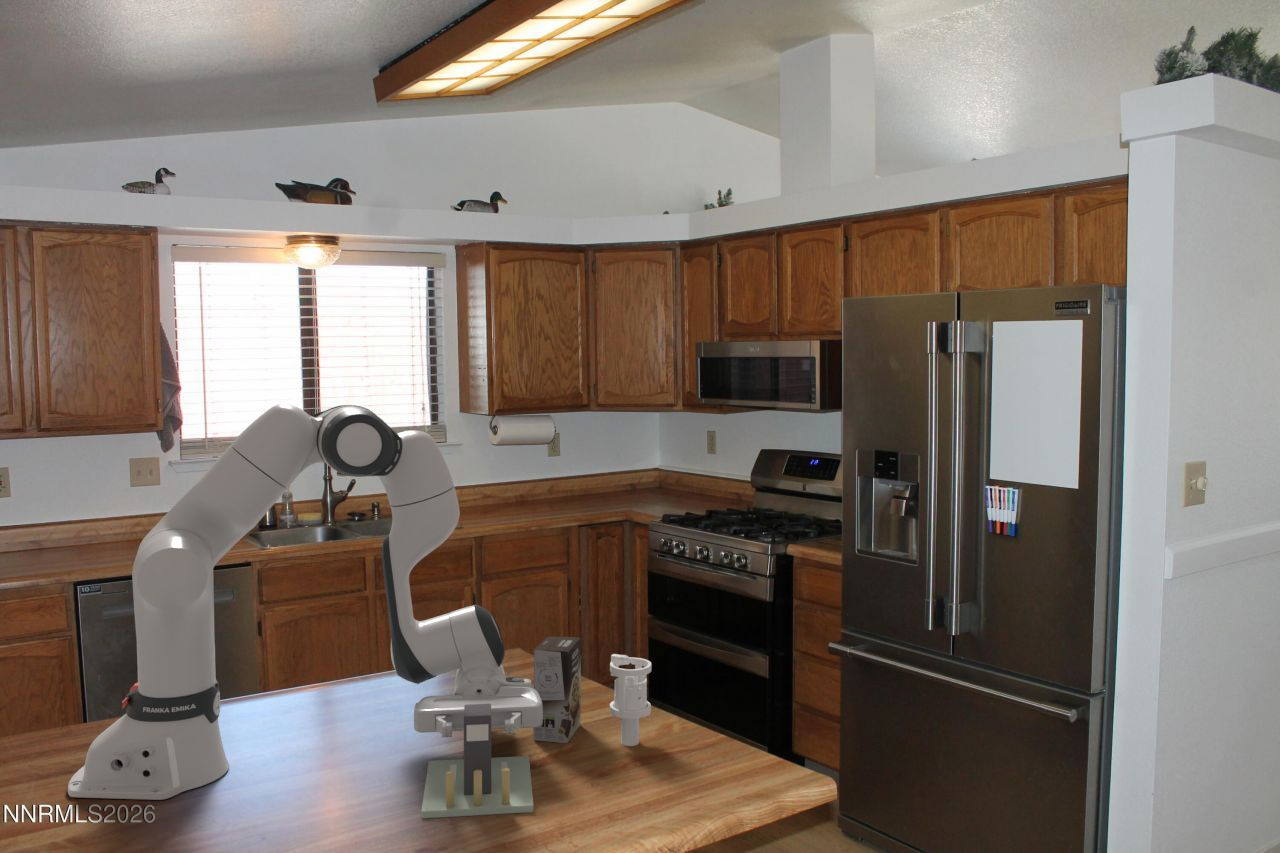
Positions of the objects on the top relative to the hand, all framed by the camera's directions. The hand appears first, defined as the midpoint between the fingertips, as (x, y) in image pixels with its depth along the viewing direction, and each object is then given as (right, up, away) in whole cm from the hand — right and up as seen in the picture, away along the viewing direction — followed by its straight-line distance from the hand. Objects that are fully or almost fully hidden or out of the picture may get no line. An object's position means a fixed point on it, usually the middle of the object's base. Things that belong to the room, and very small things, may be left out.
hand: (478, 731), depth 155 cm
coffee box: (+10, -8, +23) cm, 27 cm away
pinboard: (0, -9, +1) cm, 9 cm away
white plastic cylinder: (+23, -8, +19) cm, 31 cm away
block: (0, -8, -1) cm, 8 cm away
